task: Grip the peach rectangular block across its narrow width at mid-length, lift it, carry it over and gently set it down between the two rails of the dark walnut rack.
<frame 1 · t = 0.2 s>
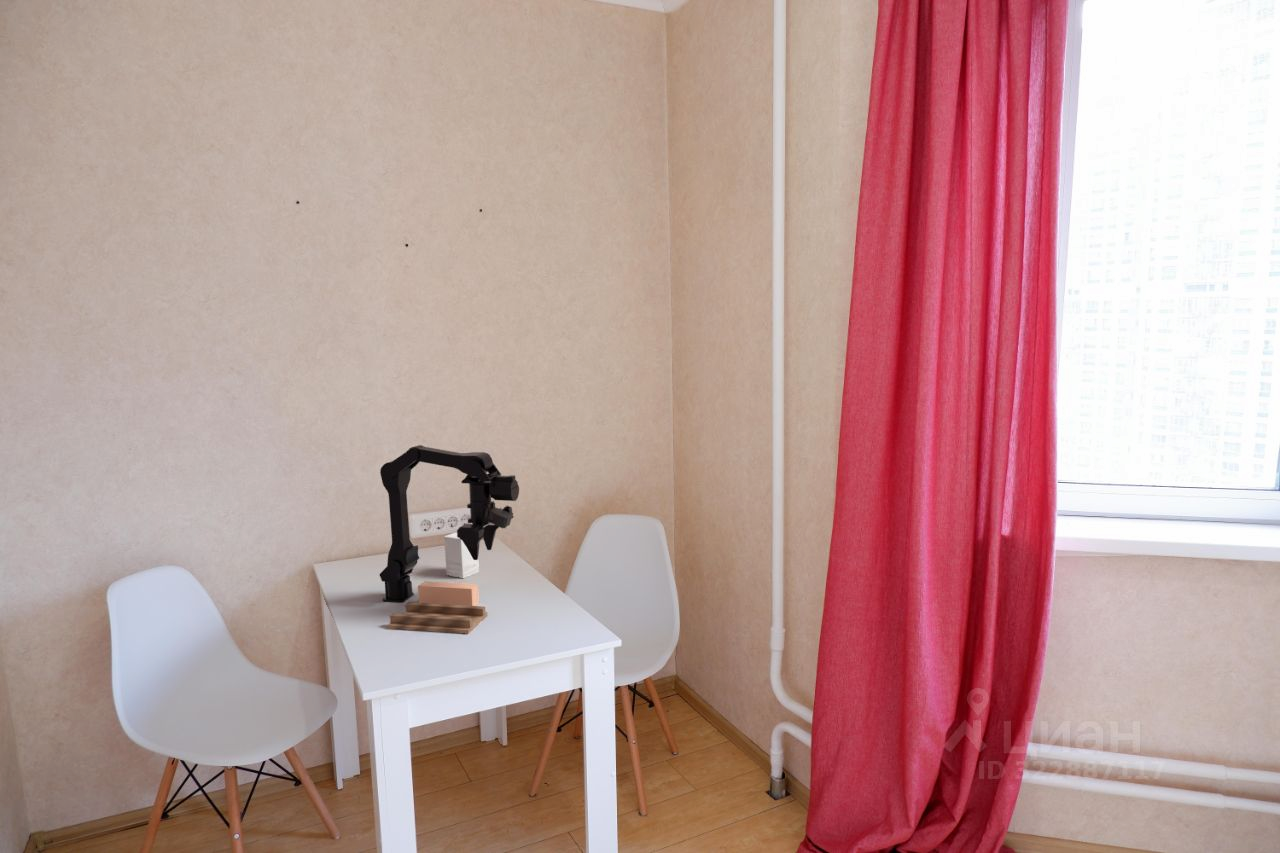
hand: (482, 554, 207), 14 cm above the table, tool pointing down, fingers open, 9 cm apart
supplement box: (462, 574, 235), on the table
peach rectangular block: (449, 605, 208), on the table
rack: (438, 622, 196), on the table
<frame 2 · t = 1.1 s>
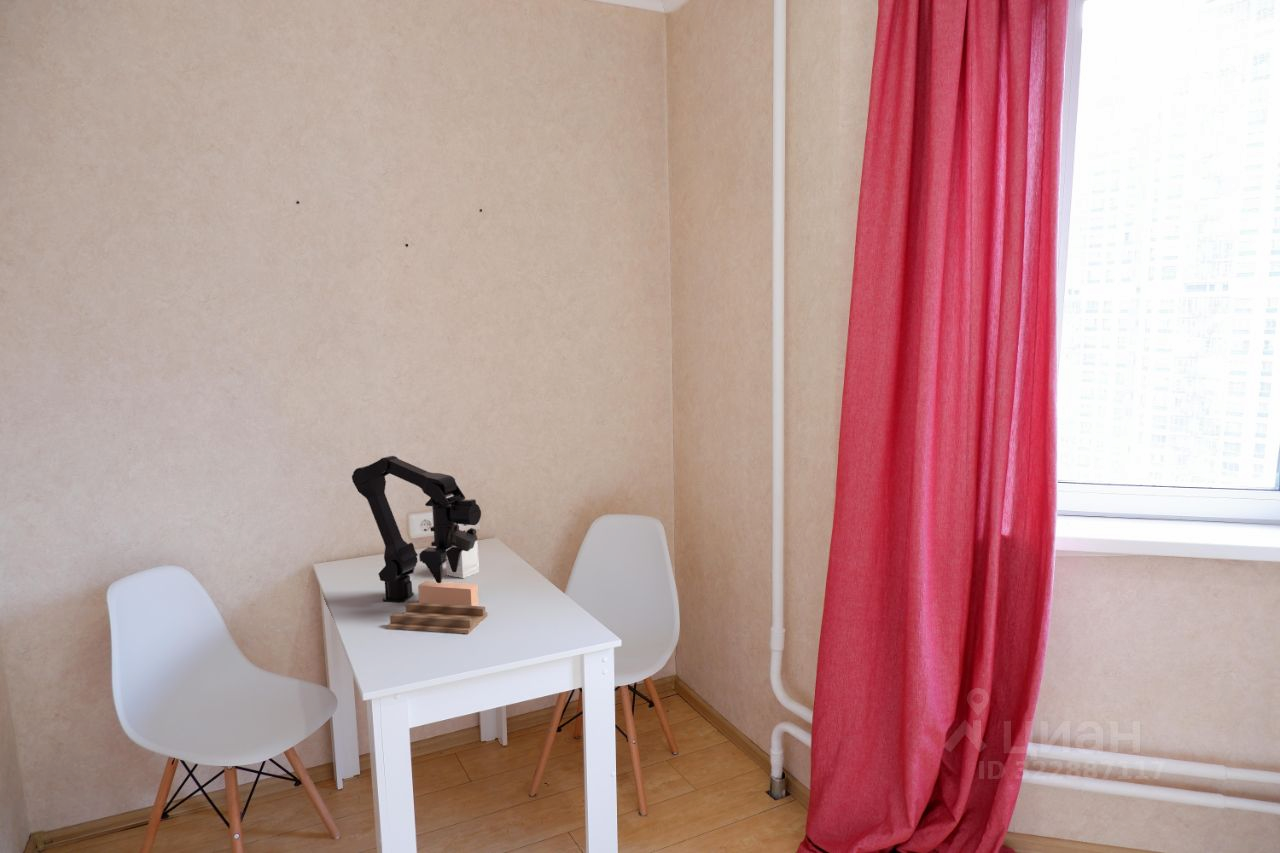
hand: (447, 577, 207), 8 cm above the table, tool pointing down, fingers open, 9 cm apart
nothing on the table moved.
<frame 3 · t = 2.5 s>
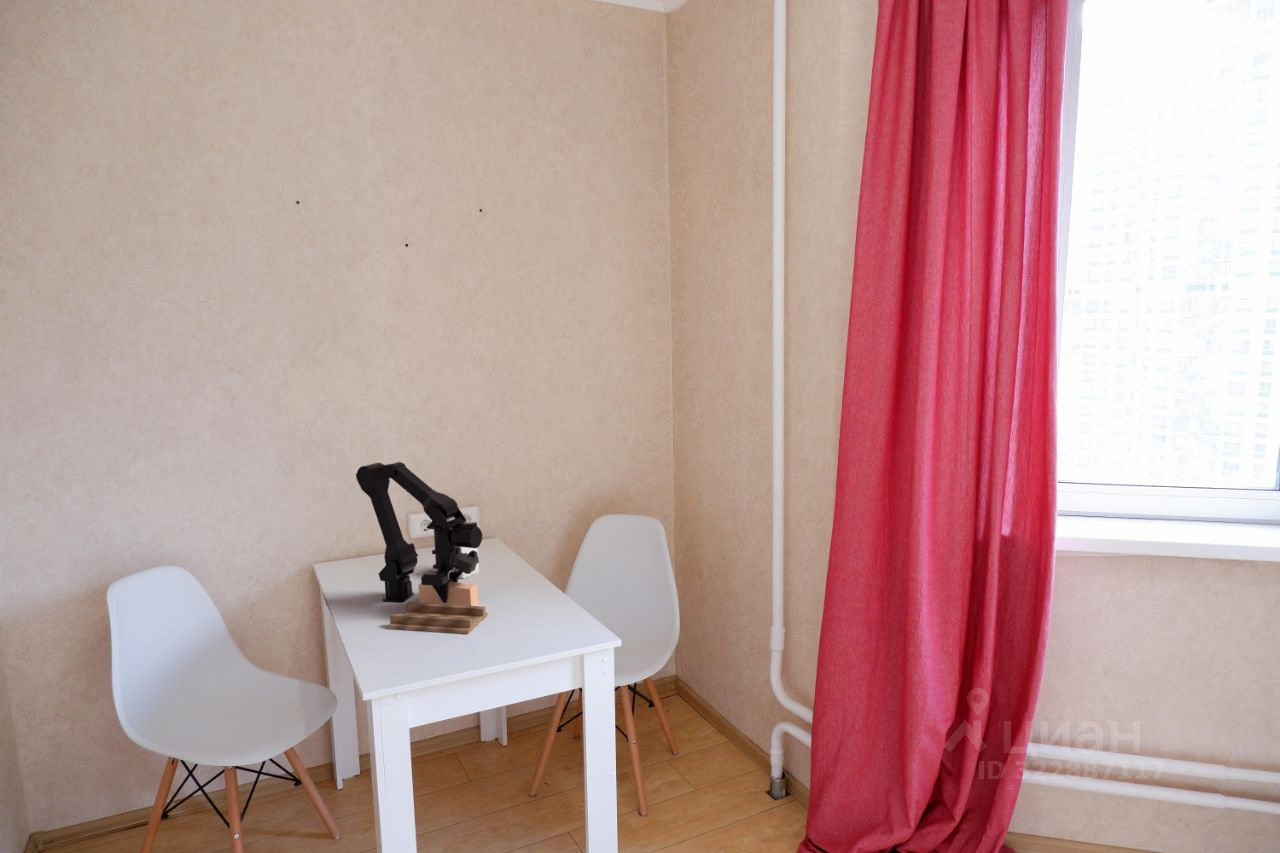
hand: (448, 599, 208), 2 cm above the table, tool pointing down, fingers closed on peach rectangular block, 4 cm apart
peach rectangular block: (449, 605, 208), on the table, touching gripper
everything else where it was.
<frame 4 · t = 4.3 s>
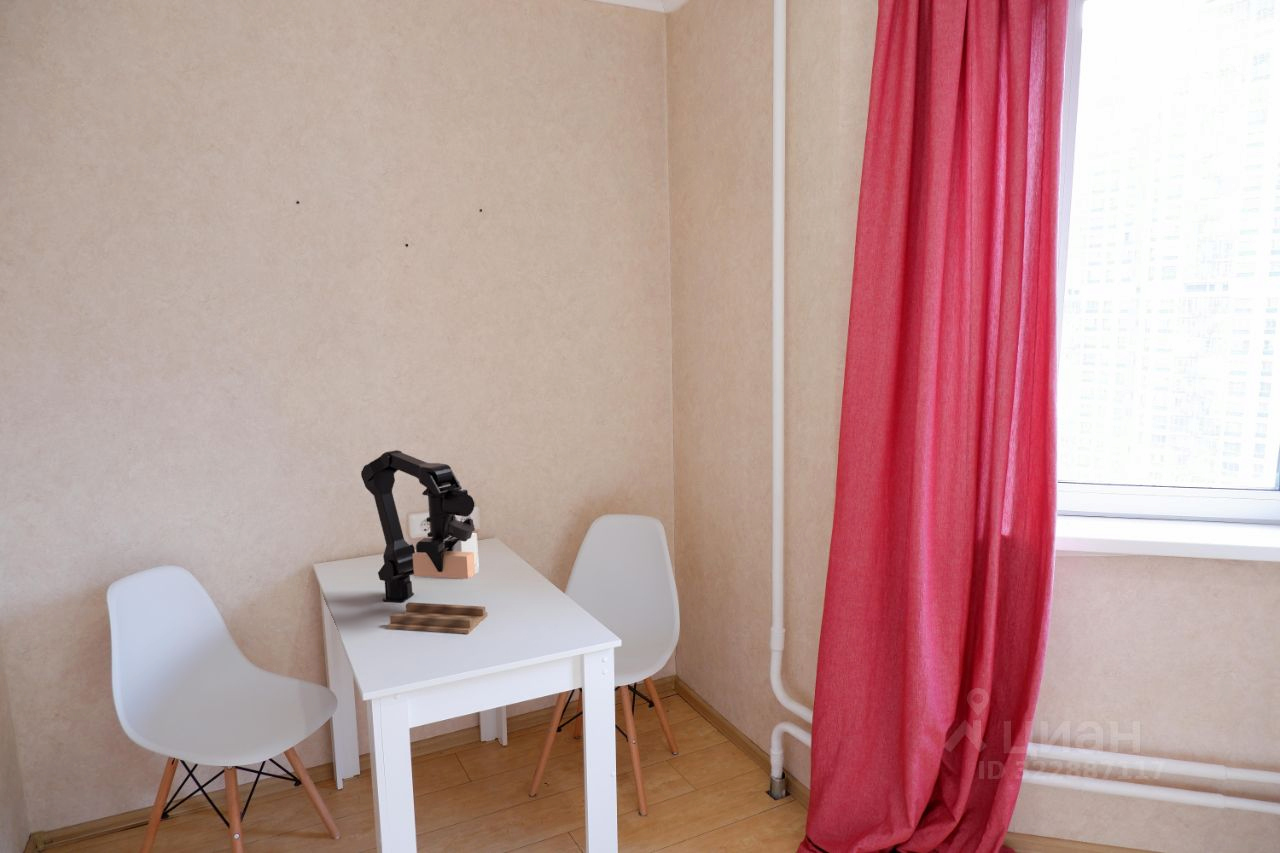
hand: (443, 569, 202), 12 cm above the table, tool pointing down, fingers closed on peach rectangular block, 4 cm apart
peach rectangular block: (444, 574, 202), point 10 cm above the table, touching gripper
everything else where it was.
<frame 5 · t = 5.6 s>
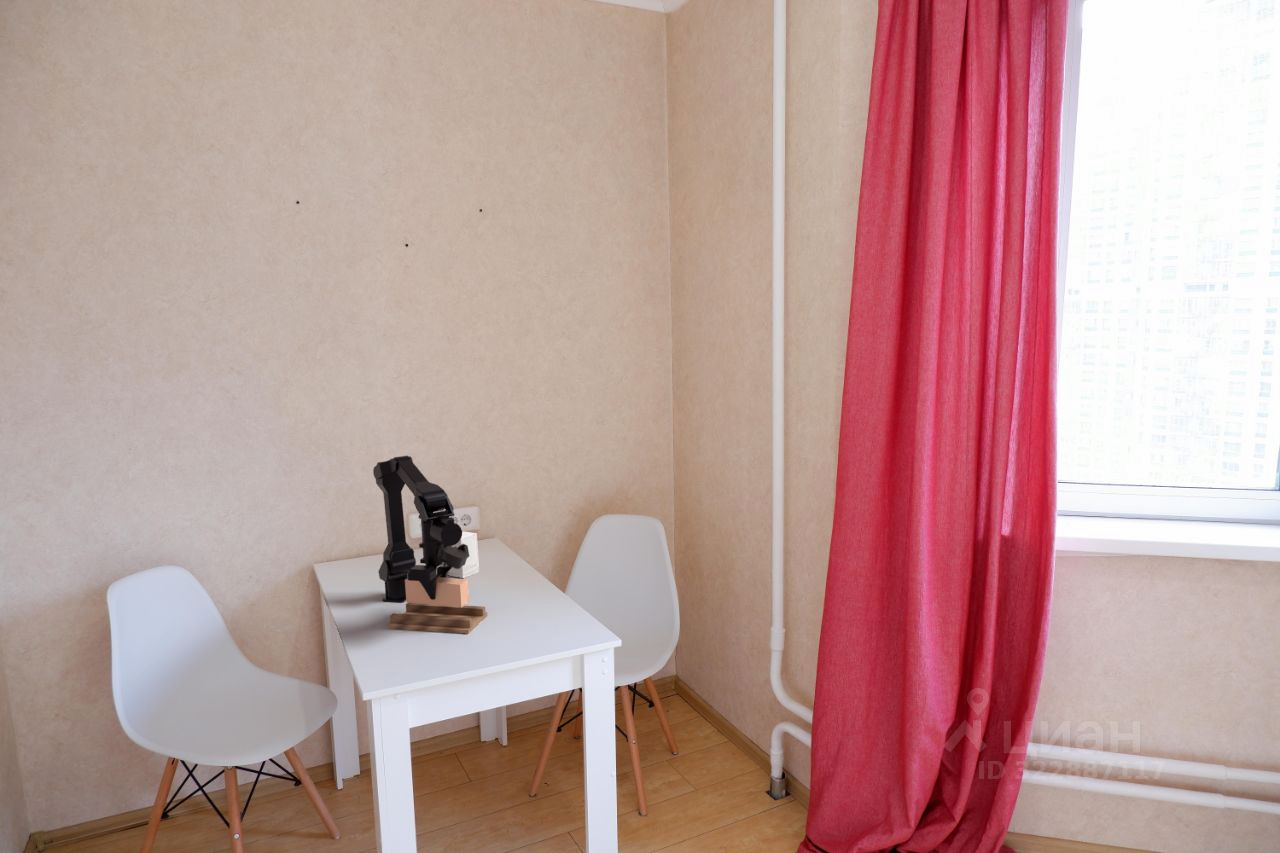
hand: (437, 596, 195), 7 cm above the table, tool pointing down, fingers closed on peach rectangular block, 4 cm apart
peach rectangular block: (437, 602, 195), point 5 cm above the table, touching gripper
everything else where it was.
when the fingers open (4 cm above the table, at t = 6.4 s): peach rectangular block drops 2 cm, resting on rack.
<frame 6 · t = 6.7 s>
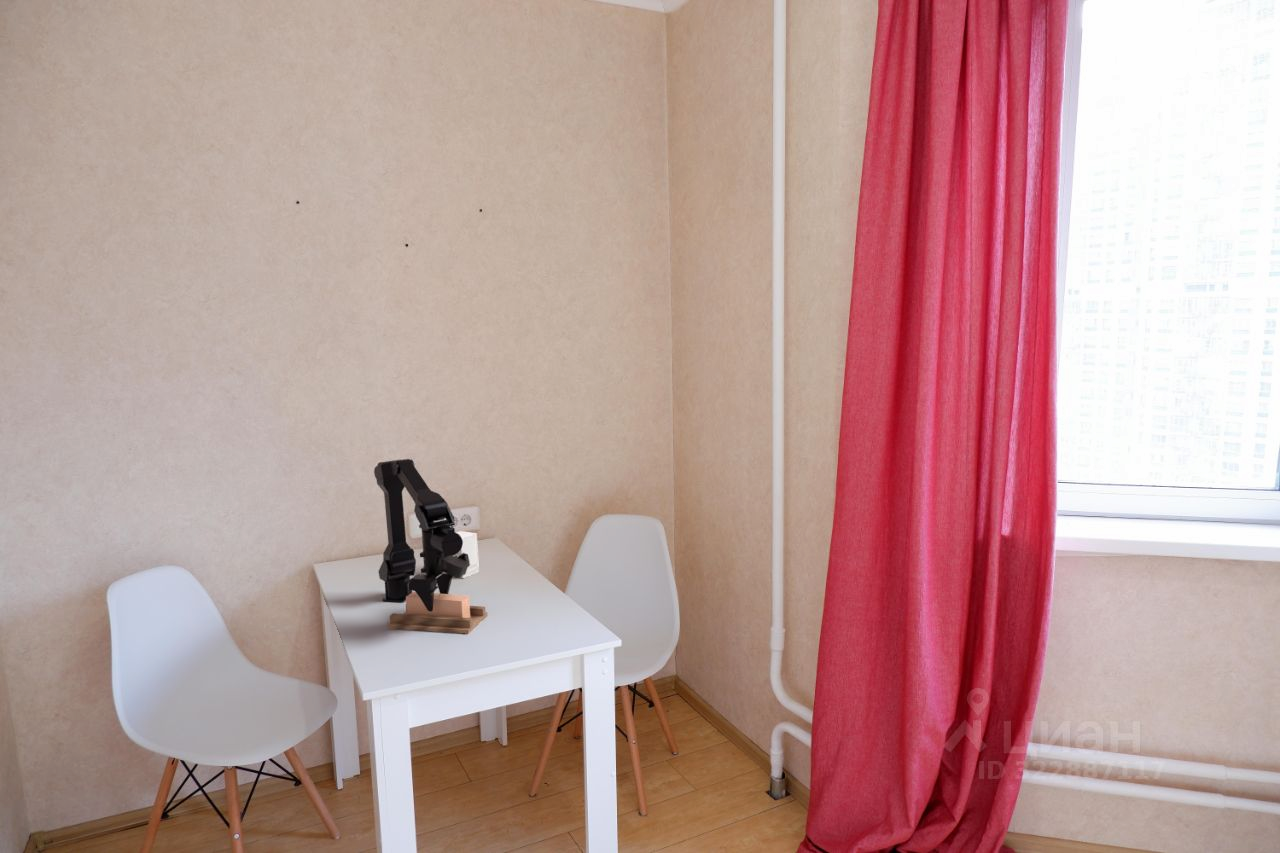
hand: (437, 605, 195), 4 cm above the table, tool pointing down, fingers open, 8 cm apart
peach rectangular block: (438, 618, 196), point 1 cm above the table, touching rack
everything else where it was.
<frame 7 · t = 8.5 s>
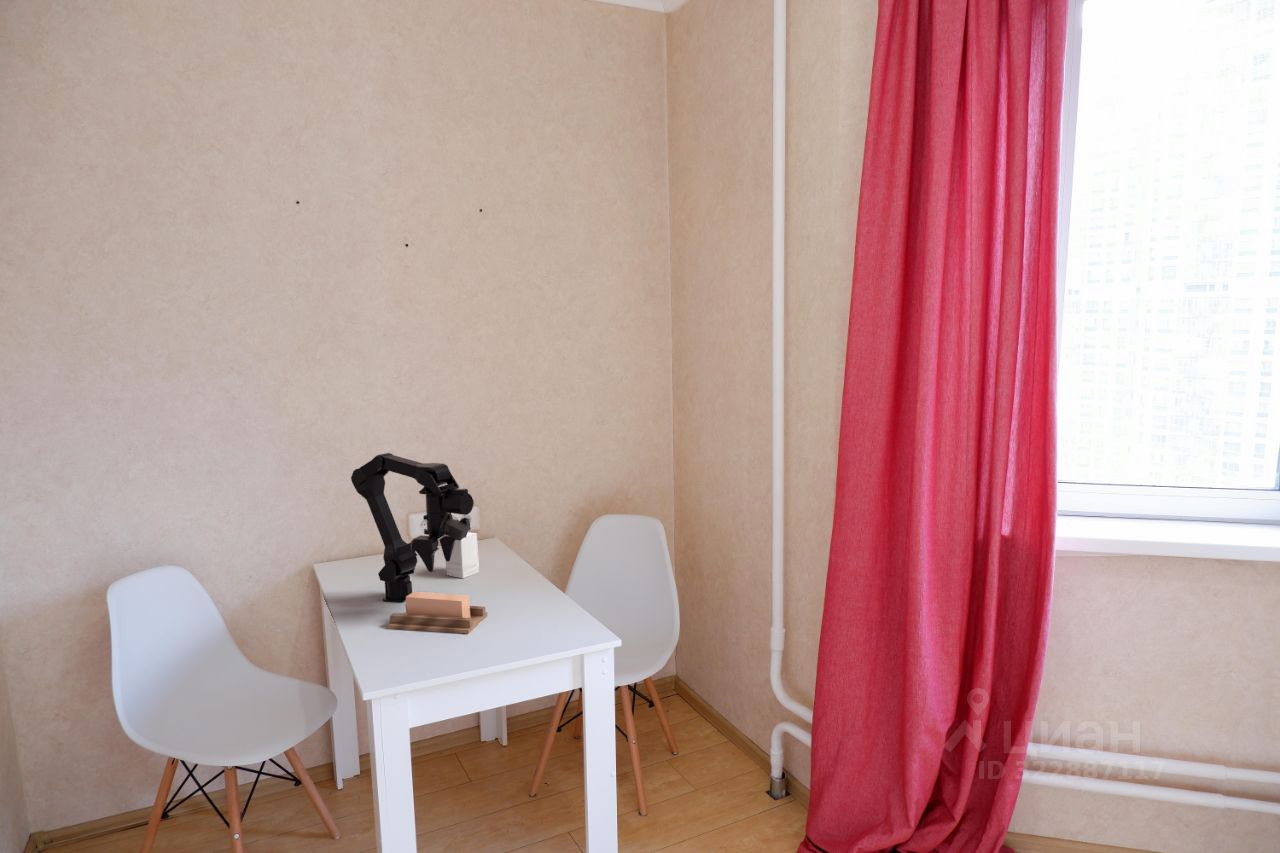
hand: (439, 566, 206), 11 cm above the table, tool pointing down, fingers open, 9 cm apart
nothing on the table moved.
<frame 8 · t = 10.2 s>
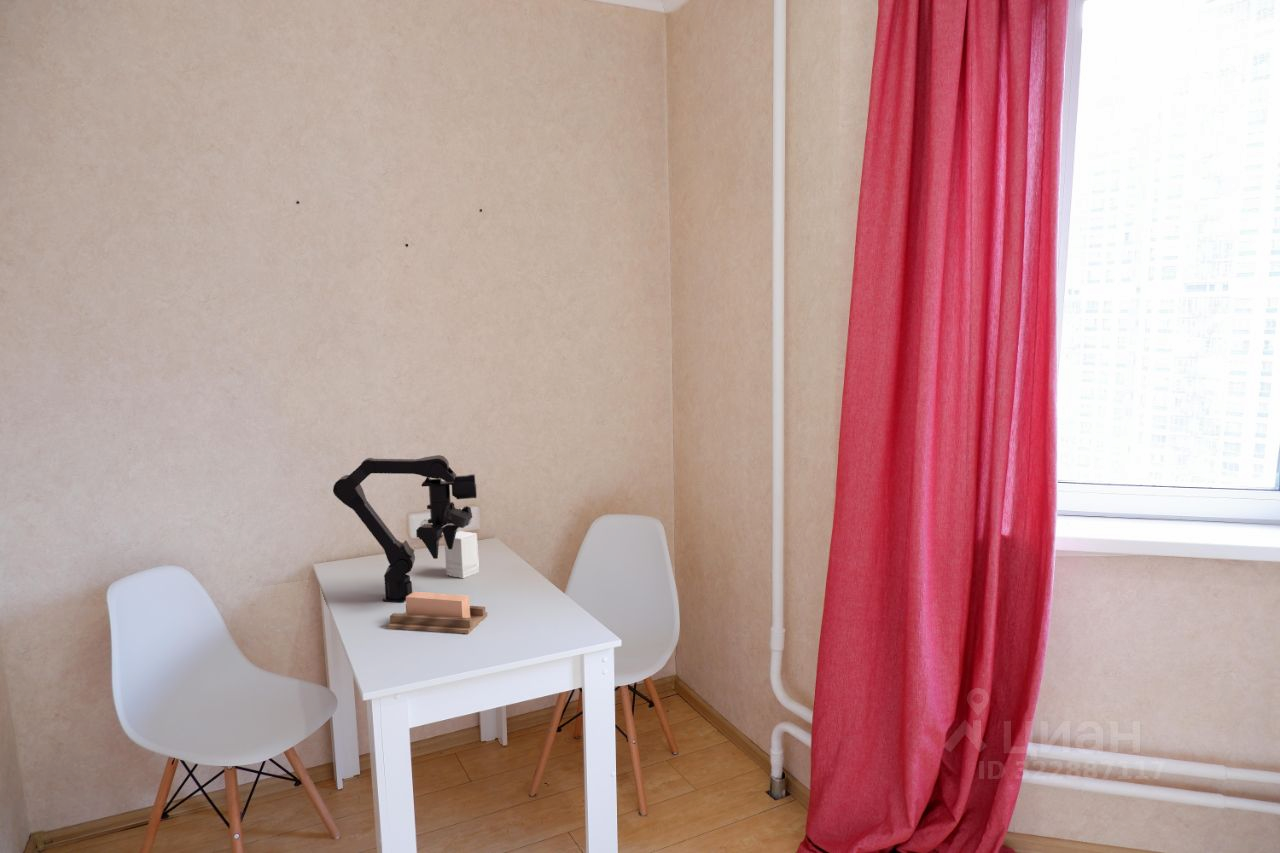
hand: (443, 553, 215), 12 cm above the table, tool pointing down, fingers open, 9 cm apart
nothing on the table moved.
at the end: peach rectangular block 0.0 cm off-centre on the rack, point 1.0 cm above the rack's base; peach rectangular block tilted 0°; the gripper is holding nothing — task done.
